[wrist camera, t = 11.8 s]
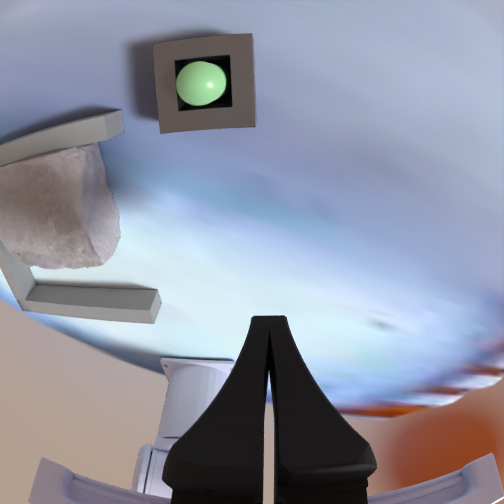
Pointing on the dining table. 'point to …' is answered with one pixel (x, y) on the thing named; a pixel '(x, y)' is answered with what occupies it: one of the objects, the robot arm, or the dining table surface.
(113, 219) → the stone block
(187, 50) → the button box
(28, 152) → the corral
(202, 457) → the robot arm
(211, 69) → the button
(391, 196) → the dining table surface
